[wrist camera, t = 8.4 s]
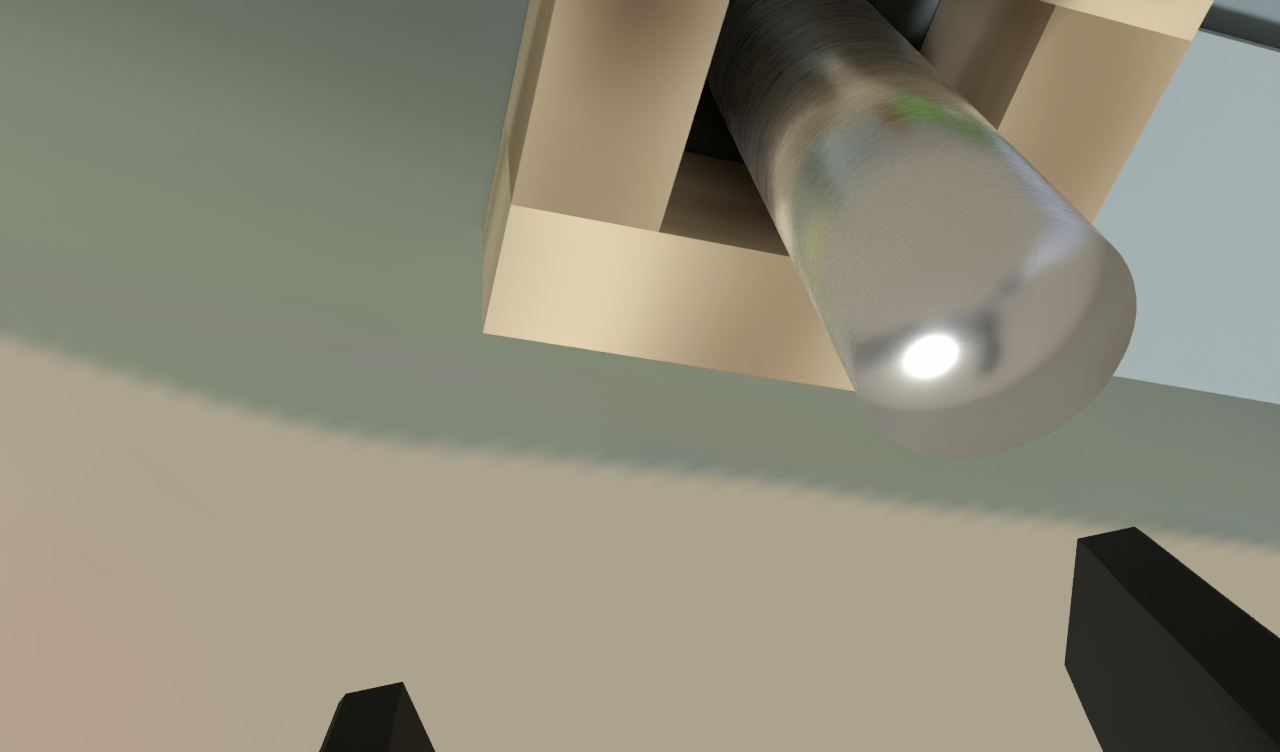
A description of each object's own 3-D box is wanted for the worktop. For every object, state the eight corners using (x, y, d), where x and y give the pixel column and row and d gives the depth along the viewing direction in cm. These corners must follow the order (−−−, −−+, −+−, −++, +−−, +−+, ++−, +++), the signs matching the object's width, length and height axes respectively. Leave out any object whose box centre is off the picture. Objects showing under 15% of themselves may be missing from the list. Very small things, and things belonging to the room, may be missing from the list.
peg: (906, -3, 18) (1194, 254, 11) (836, 158, 20) (1044, 477, 12) (743, -54, 17) (934, 185, 10) (683, 118, 19) (810, 433, 12)
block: (1148, -168, 17) (1282, -125, 14) (923, 308, 22) (988, 412, 19) (600, -343, 15) (628, -333, 12) (482, 229, 20) (482, 333, 17)
